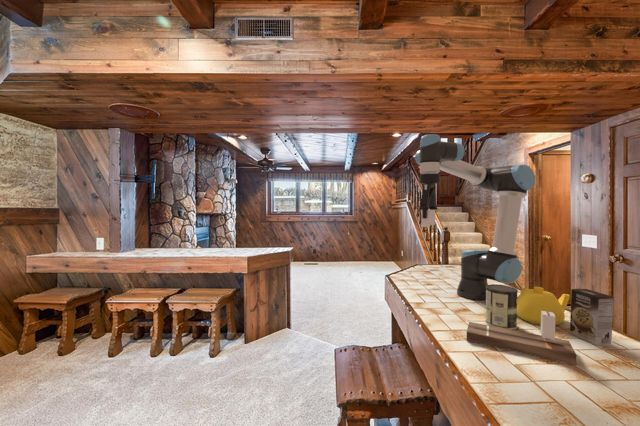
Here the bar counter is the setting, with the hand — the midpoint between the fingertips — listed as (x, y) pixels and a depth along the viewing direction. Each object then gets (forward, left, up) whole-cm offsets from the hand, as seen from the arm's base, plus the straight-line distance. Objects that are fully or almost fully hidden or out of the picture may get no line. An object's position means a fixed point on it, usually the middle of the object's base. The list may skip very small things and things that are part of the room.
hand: (428, 226), depth 119 cm
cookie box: (-7, +52, -37) cm, 64 cm away
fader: (+12, +38, -33) cm, 52 cm away
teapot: (-22, +40, -37) cm, 59 cm away
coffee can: (-5, +26, -37) cm, 45 cm away
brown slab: (+12, +30, -37) cm, 49 cm away
